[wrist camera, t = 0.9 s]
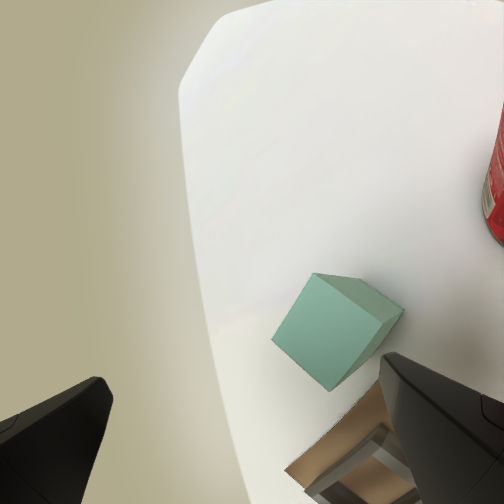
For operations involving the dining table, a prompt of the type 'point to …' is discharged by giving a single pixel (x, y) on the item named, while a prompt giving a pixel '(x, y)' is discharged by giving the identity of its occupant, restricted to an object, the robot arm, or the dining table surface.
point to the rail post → (335, 327)
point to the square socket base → (358, 460)
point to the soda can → (495, 187)
